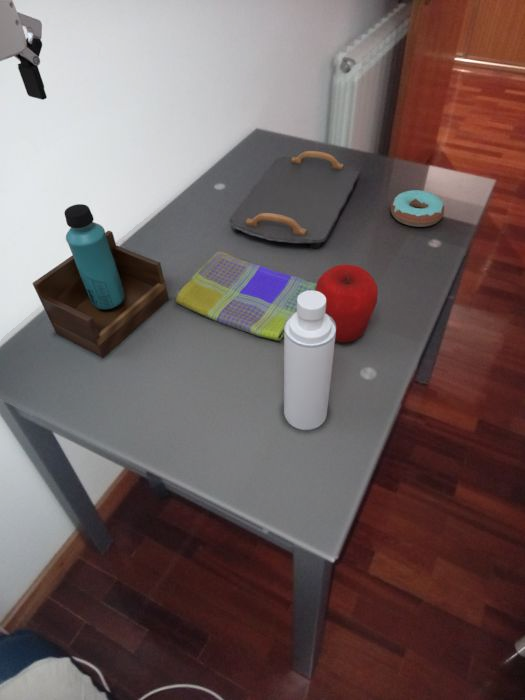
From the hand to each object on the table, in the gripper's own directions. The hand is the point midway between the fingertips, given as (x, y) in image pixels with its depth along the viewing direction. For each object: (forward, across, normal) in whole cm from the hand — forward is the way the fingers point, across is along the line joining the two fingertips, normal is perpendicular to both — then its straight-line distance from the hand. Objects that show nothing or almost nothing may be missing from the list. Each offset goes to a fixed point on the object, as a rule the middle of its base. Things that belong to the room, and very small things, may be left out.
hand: (8, 109), depth 65 cm
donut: (+38, -64, +40) cm, 85 cm away
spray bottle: (+38, -2, +45) cm, 59 cm away
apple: (+38, -21, +42) cm, 61 cm away
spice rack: (+38, -3, +3) cm, 39 cm away
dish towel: (+38, -20, +22) cm, 49 cm away
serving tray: (+38, -55, +14) cm, 69 cm away
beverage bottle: (+36, -3, +3) cm, 36 cm away
